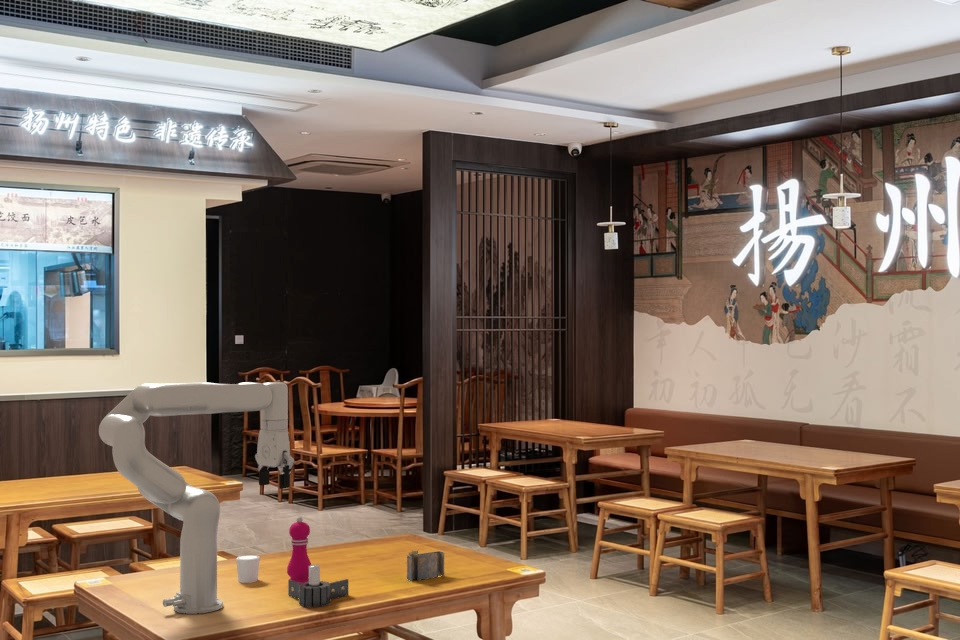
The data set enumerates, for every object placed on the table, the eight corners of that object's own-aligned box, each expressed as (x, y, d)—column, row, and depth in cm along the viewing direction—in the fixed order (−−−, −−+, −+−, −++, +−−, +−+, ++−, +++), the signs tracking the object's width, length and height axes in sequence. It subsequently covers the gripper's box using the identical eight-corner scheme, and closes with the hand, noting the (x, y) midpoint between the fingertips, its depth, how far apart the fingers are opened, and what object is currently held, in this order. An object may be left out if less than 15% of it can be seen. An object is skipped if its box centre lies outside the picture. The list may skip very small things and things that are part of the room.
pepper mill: (306, 588, 279) (306, 519, 279) (283, 587, 280) (283, 518, 281) (315, 582, 286) (315, 514, 286) (292, 581, 287) (292, 514, 288)
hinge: (311, 608, 258) (311, 590, 258) (277, 598, 268) (277, 580, 269) (357, 597, 269) (357, 579, 269) (322, 587, 280) (322, 570, 280)
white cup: (242, 584, 284) (242, 560, 284) (232, 580, 289) (232, 556, 290) (263, 581, 289) (263, 557, 289) (253, 576, 294) (253, 553, 294)
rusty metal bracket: (412, 583, 287) (411, 550, 287) (407, 581, 289) (407, 548, 290) (445, 578, 293) (445, 546, 293) (440, 576, 295) (439, 544, 296)
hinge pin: (313, 605, 262) (313, 567, 262) (306, 603, 264) (306, 566, 264) (322, 602, 264) (322, 566, 264) (315, 600, 266) (315, 564, 266)
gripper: (245, 425, 277) (245, 485, 277) (281, 428, 266) (281, 491, 265) (267, 423, 283) (267, 482, 282) (303, 426, 271) (303, 488, 271)
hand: (274, 486), depth 274 cm, fingers open, 9 cm apart
